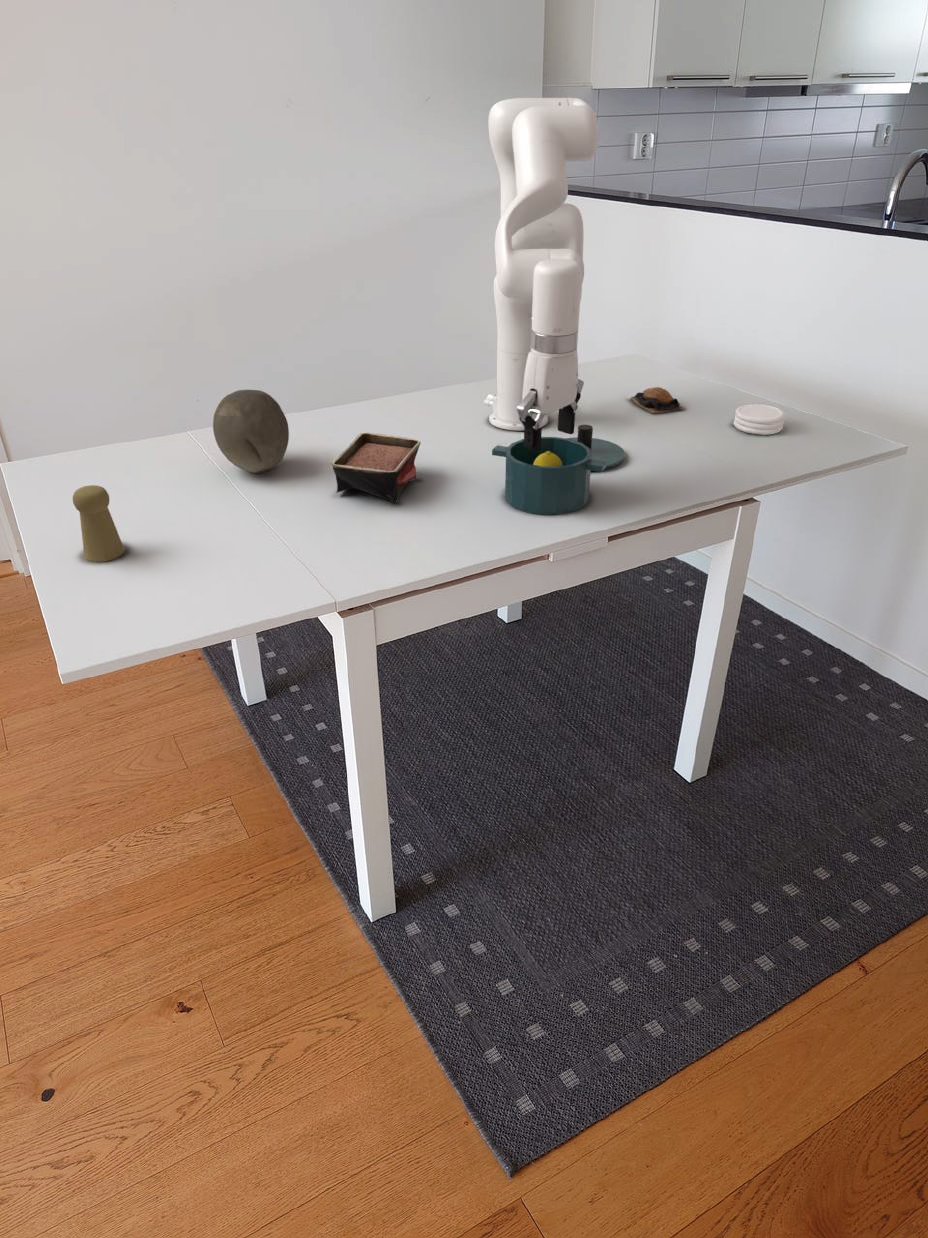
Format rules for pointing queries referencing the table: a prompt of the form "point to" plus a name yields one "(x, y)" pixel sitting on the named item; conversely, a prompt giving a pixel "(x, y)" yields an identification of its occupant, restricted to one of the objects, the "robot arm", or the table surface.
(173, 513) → the table surface
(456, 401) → the table surface
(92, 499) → the cork
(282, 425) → the grey river stone
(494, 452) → the pot
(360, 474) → the square planter
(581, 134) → the robot arm
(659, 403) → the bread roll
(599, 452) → the pot lid
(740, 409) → the white round flat cylinder
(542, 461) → the lemon
